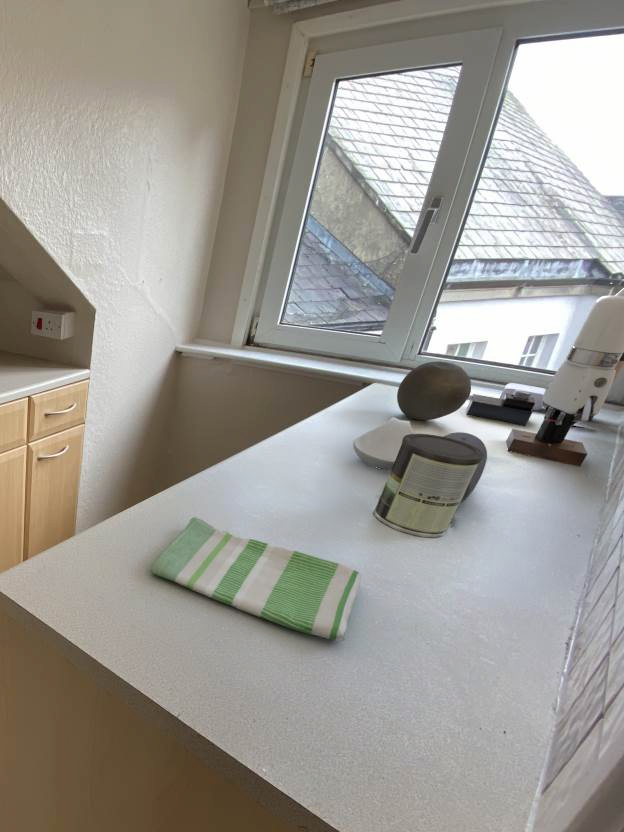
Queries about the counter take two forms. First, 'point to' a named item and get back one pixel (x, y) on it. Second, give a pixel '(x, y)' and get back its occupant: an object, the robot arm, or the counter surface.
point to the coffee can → (427, 484)
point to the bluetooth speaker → (477, 475)
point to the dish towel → (262, 579)
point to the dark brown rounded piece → (433, 390)
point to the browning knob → (545, 429)
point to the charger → (534, 391)
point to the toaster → (501, 409)
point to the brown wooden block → (546, 448)
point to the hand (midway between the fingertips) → (548, 439)
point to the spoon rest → (382, 443)
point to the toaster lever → (521, 394)
